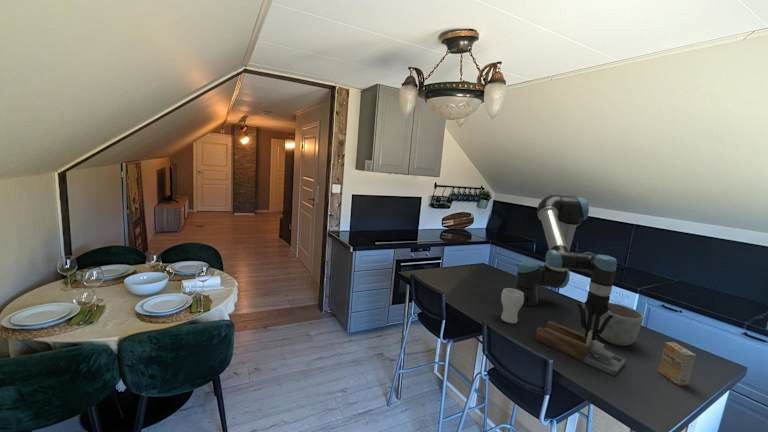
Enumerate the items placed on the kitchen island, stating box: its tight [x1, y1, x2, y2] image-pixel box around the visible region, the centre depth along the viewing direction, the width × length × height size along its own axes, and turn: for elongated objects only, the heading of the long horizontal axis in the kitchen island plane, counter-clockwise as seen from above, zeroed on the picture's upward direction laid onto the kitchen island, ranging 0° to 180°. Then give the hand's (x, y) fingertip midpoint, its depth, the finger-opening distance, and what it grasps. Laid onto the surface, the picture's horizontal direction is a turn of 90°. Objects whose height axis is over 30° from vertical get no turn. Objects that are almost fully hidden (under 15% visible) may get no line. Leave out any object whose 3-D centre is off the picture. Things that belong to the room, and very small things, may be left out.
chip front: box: [598, 348, 615, 366], centre depth 132 cm, size 4×4×4 cm
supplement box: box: [657, 341, 697, 386], centre depth 125 cm, size 8×5×13 cm, turn 5°
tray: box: [583, 352, 627, 377], centre depth 133 cm, size 14×11×2 cm
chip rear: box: [588, 339, 605, 356], centre depth 135 cm, size 4×4×4 cm
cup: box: [500, 287, 524, 324], centre depth 164 cm, size 11×11×15 cm
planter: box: [598, 302, 644, 347], centre depth 151 cm, size 17×17×15 cm
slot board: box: [535, 320, 598, 363], centre depth 144 cm, size 13×20×6 cm, turn 40°
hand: (588, 345), depth 137 cm, fingers closed
